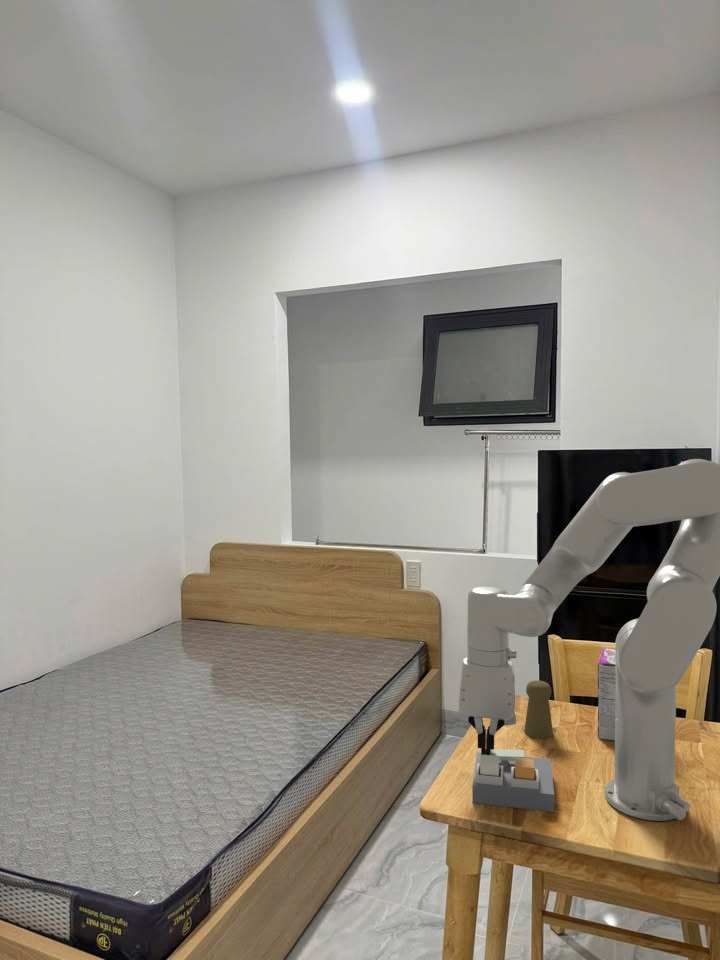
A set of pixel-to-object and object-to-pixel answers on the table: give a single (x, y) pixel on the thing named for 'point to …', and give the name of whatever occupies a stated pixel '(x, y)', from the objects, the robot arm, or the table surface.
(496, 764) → the cream button
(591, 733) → the table surface
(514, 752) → the block
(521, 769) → the orange button
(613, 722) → the candy bar box
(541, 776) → the switch panel
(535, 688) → the cork
